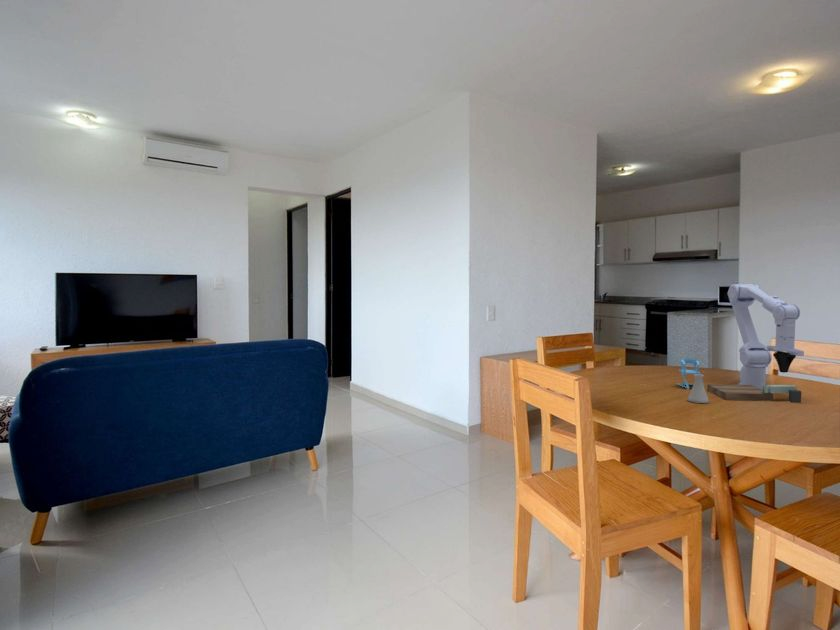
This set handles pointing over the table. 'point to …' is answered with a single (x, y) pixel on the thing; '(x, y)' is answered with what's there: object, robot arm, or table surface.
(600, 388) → the table surface
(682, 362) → the chair
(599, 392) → the table surface
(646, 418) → the table surface
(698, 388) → the flask
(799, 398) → the block
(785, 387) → the folding leg
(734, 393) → the stool seat
